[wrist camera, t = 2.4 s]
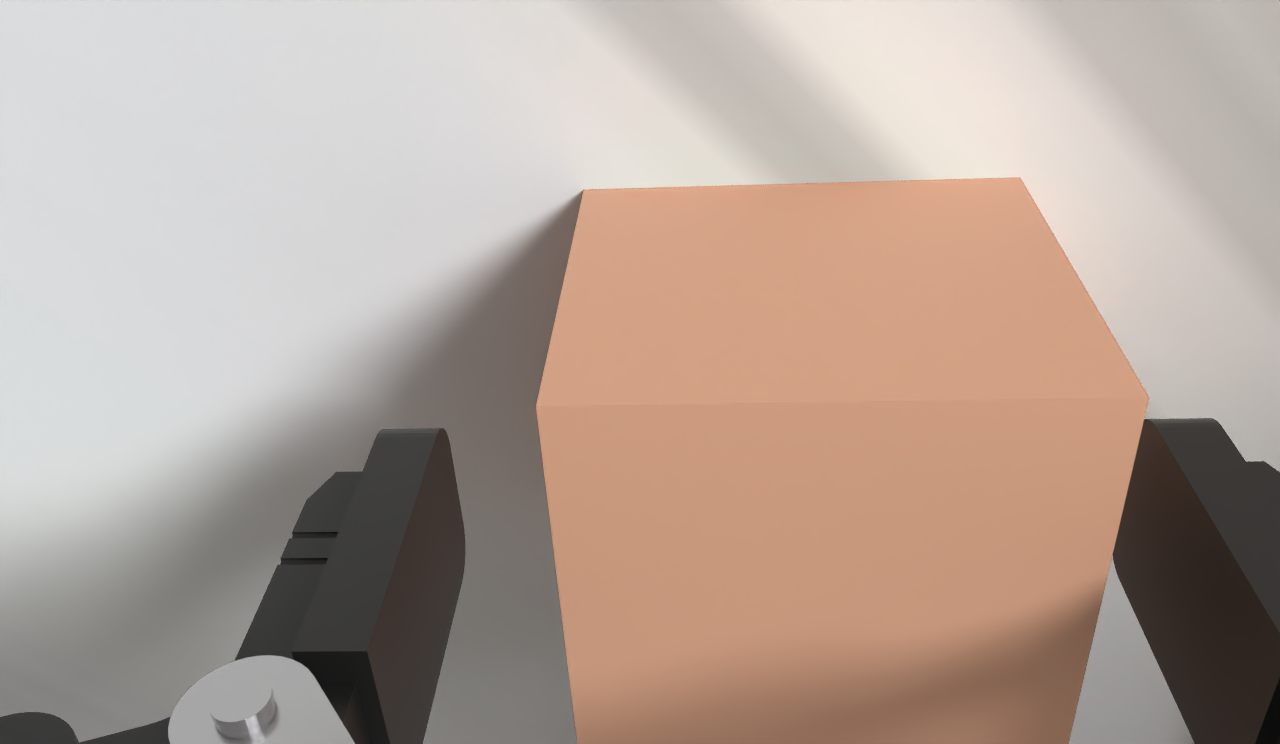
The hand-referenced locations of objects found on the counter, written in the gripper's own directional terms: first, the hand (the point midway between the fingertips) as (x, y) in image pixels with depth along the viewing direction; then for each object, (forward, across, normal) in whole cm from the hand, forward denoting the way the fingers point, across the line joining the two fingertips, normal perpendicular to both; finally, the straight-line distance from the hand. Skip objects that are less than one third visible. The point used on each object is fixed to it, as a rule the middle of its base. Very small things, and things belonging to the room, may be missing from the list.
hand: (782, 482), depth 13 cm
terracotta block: (+3, 0, 0) cm, 3 cm away
